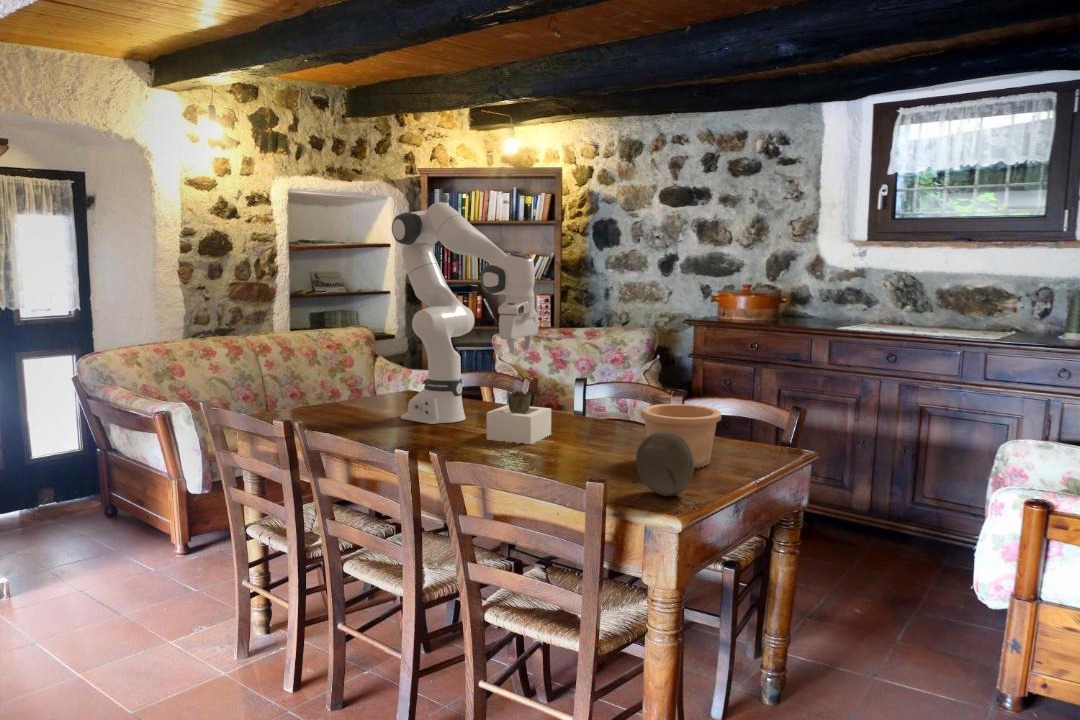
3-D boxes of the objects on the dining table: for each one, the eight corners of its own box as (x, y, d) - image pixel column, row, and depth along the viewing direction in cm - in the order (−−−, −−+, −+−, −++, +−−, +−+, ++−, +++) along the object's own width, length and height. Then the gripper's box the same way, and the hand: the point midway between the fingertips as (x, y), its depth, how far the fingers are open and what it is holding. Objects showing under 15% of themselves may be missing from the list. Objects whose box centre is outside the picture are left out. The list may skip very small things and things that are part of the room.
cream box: (486, 439, 253) (486, 412, 252) (508, 430, 267) (508, 404, 266) (530, 444, 247) (530, 416, 246) (551, 434, 261) (551, 408, 260)
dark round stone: (702, 492, 200) (705, 431, 198) (678, 507, 188) (679, 442, 186) (650, 482, 208) (652, 424, 206) (623, 496, 196) (624, 434, 194)
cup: (502, 419, 255) (502, 393, 254) (514, 414, 261) (514, 390, 260) (523, 421, 251) (523, 395, 250) (535, 417, 258) (535, 392, 257)
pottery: (665, 448, 244) (666, 400, 242) (733, 460, 230) (735, 410, 228) (624, 462, 227) (625, 411, 225) (695, 476, 213) (697, 422, 212)
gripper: (525, 304, 263) (525, 347, 264) (495, 308, 244) (495, 354, 246) (543, 305, 260) (543, 348, 262) (514, 309, 242) (514, 355, 243)
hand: (519, 351), depth 254 cm, fingers open, 8 cm apart
